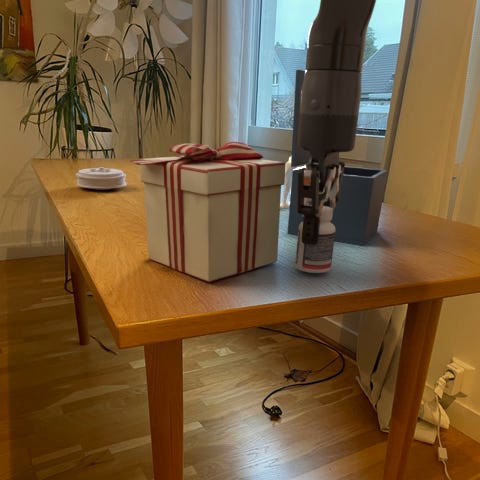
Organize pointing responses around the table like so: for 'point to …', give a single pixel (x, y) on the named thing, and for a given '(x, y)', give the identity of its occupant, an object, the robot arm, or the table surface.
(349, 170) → the chest
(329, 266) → the pill bottle
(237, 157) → the gift box
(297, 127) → the chest lid
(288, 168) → the figurine
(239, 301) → the table surface
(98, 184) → the lid
